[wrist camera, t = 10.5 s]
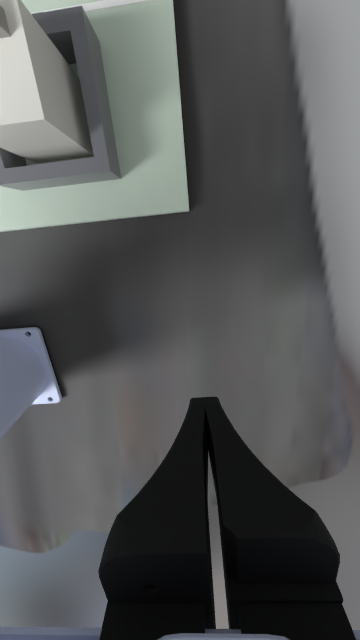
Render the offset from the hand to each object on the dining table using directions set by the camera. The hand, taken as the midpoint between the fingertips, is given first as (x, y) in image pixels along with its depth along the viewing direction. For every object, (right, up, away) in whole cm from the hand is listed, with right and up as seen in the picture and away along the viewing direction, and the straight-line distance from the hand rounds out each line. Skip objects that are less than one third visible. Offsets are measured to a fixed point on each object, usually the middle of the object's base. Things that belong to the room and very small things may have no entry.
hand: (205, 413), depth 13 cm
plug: (-9, +17, +3) cm, 20 cm away
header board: (-9, +18, +4) cm, 20 cm away
